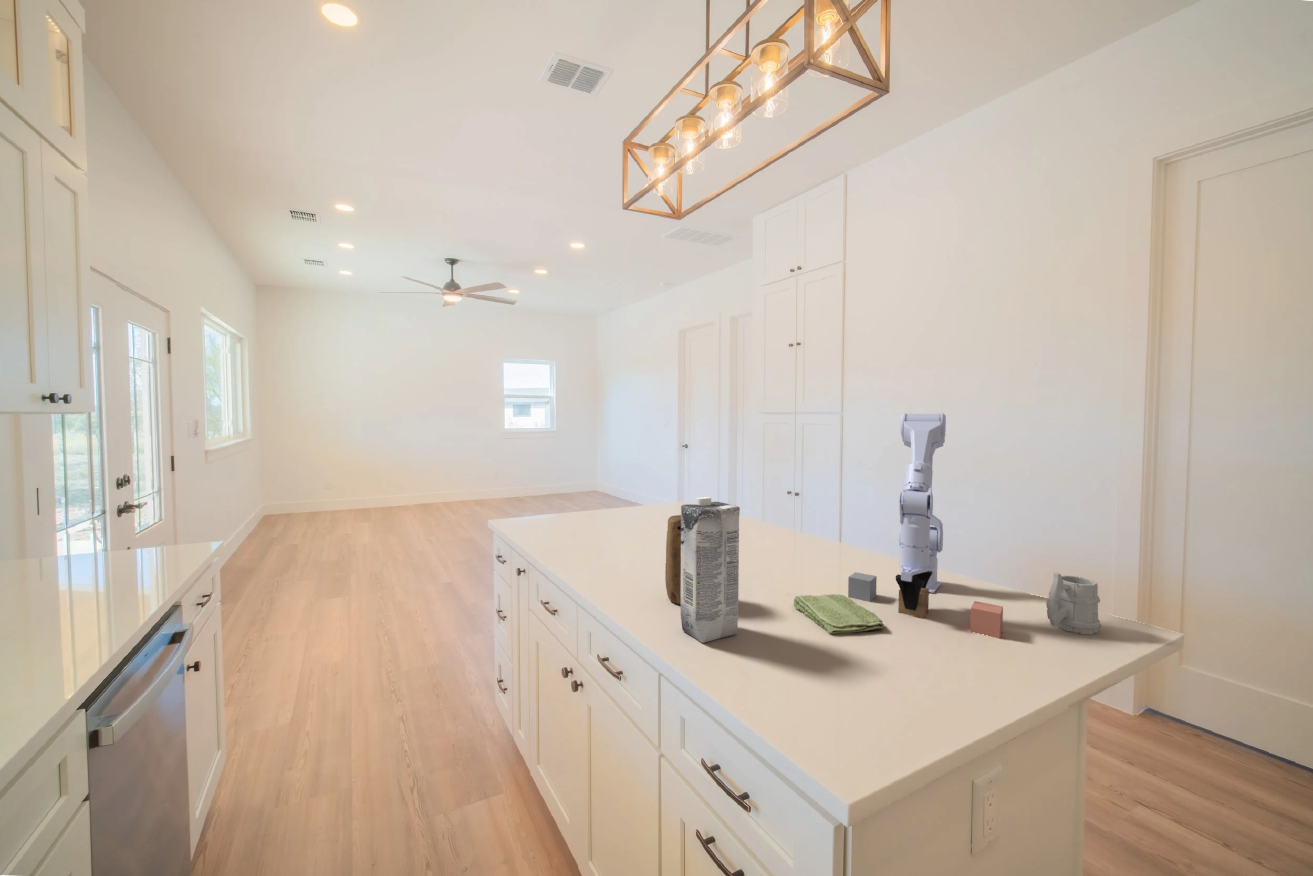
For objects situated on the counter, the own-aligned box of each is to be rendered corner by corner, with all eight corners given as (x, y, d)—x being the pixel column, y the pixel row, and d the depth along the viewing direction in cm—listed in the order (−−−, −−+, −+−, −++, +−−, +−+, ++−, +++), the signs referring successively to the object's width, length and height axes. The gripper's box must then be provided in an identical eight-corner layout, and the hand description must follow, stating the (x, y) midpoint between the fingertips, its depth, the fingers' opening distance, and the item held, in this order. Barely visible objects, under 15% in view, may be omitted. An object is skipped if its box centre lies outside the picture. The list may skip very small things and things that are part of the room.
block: (669, 606, 119) (669, 519, 118) (663, 595, 127) (664, 513, 126) (715, 604, 121) (716, 518, 120) (707, 593, 128) (708, 512, 128)
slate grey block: (855, 592, 130) (855, 572, 130) (876, 596, 127) (876, 576, 127) (848, 597, 126) (848, 577, 126) (869, 602, 123) (870, 581, 123)
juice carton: (744, 635, 104) (745, 499, 103) (701, 647, 98) (701, 504, 97) (716, 620, 112) (717, 493, 110) (675, 630, 106) (675, 497, 105)
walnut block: (904, 606, 120) (904, 584, 120) (928, 611, 117) (928, 589, 117) (898, 612, 116) (898, 590, 116) (923, 618, 113) (923, 595, 113)
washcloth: (830, 639, 103) (830, 623, 103) (789, 607, 120) (789, 593, 120) (889, 634, 106) (889, 618, 106) (841, 603, 123) (841, 589, 123)
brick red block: (973, 624, 110) (974, 601, 110) (1002, 630, 107) (1003, 606, 106) (970, 632, 106) (970, 607, 106) (999, 639, 103) (1000, 613, 103)
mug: (1109, 632, 106) (1111, 573, 105) (1068, 640, 102) (1070, 579, 101) (1069, 618, 113) (1071, 563, 112) (1029, 625, 109) (1031, 568, 109)
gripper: (927, 554, 108) (926, 619, 108) (941, 541, 119) (940, 600, 120) (891, 549, 112) (889, 611, 113) (908, 536, 123) (907, 594, 124)
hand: (913, 605), depth 116 cm, fingers closed on walnut block, 5 cm apart
